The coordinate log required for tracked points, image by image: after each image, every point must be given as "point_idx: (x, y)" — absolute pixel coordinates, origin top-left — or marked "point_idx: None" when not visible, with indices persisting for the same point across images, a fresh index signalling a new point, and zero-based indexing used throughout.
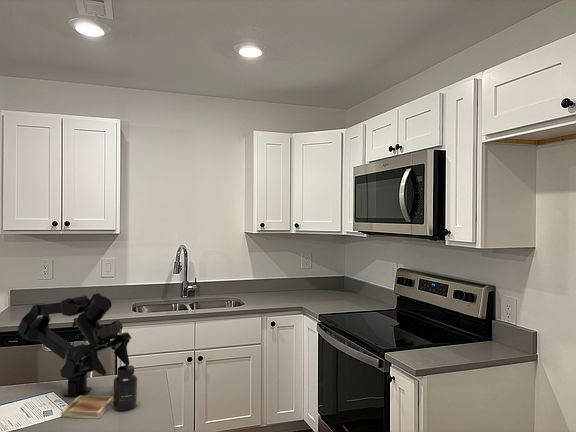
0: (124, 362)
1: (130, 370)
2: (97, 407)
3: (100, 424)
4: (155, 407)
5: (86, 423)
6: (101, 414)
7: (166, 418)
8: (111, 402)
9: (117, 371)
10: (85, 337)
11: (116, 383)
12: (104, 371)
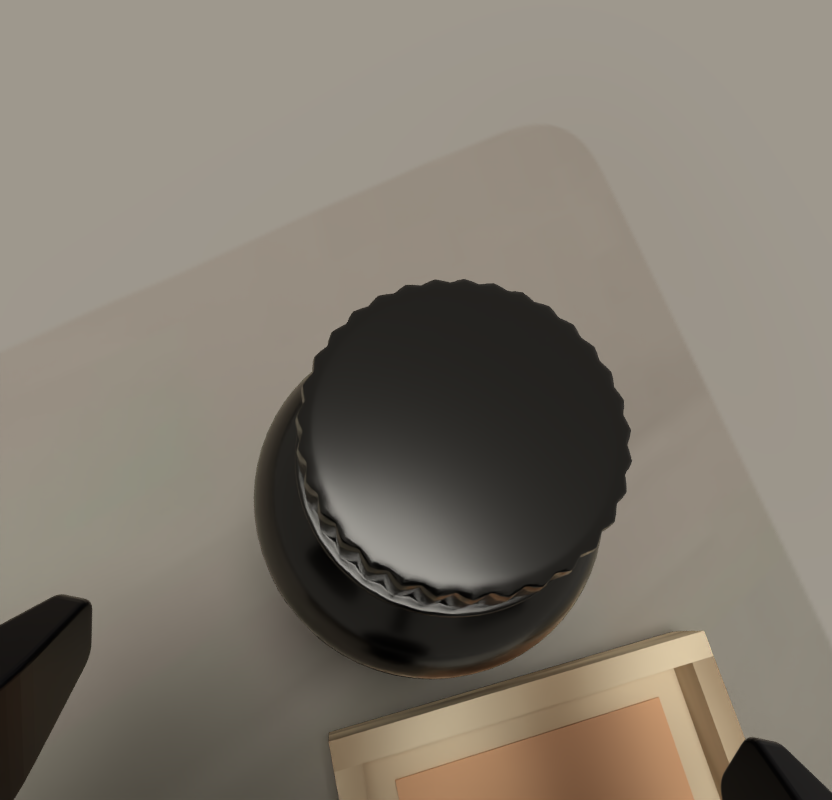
0: (23, 758)
1: (519, 296)
2: (552, 790)
3: (738, 552)
4: (338, 295)
5: (781, 686)
6: (640, 642)
7: (475, 160)
8: (410, 713)
9: (553, 578)
10: None
11: (600, 536)
12: (810, 784)
